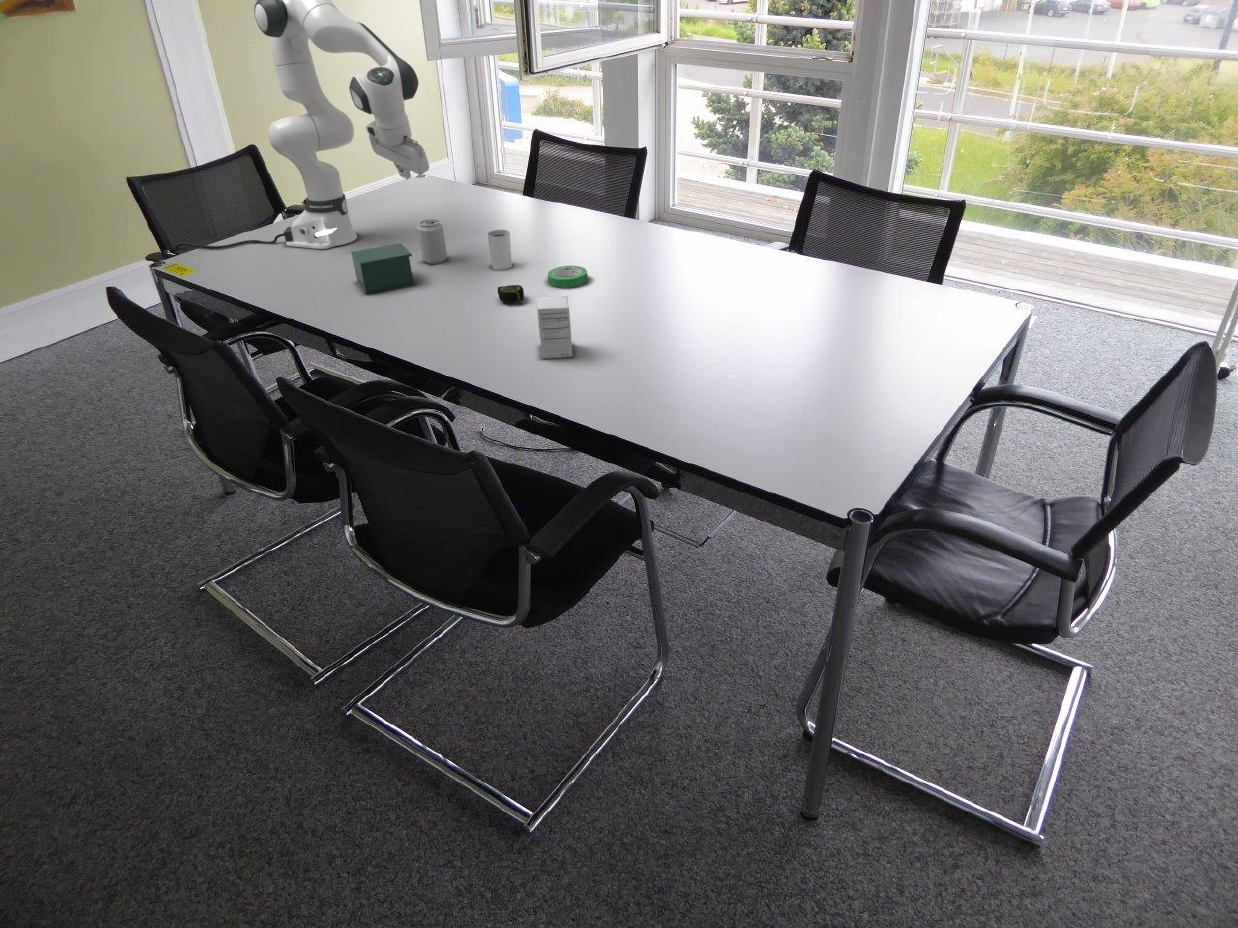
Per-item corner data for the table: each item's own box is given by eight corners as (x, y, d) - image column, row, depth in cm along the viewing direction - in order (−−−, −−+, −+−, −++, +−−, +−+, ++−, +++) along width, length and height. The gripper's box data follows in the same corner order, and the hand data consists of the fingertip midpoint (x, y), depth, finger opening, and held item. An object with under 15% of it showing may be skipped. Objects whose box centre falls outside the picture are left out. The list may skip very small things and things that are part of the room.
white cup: (517, 264, 259) (514, 231, 254) (505, 271, 254) (502, 238, 249) (498, 261, 262) (494, 228, 256) (486, 268, 257) (482, 235, 251)
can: (450, 256, 267) (444, 217, 261) (443, 265, 261) (438, 225, 254) (426, 256, 268) (420, 217, 261) (419, 265, 262) (413, 225, 255)
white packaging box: (541, 346, 210) (536, 296, 203) (571, 344, 210) (568, 294, 203) (541, 359, 204) (536, 309, 197) (572, 357, 204) (569, 306, 197)
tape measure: (523, 295, 238) (522, 282, 236) (525, 304, 232) (524, 291, 230) (498, 298, 237) (496, 284, 235) (500, 307, 231) (498, 294, 229)
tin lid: (401, 245, 252) (401, 243, 251) (411, 256, 243) (411, 253, 243) (351, 254, 246) (351, 251, 246) (360, 265, 238) (360, 263, 238)
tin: (403, 273, 256) (398, 245, 251) (413, 285, 247) (409, 256, 243) (357, 282, 251) (351, 254, 246) (366, 294, 242) (360, 266, 238)
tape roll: (540, 282, 246) (539, 273, 244) (568, 271, 252) (567, 262, 251) (567, 291, 239) (567, 282, 238) (595, 279, 246) (595, 270, 245)
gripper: (428, 138, 233) (438, 184, 244) (379, 115, 242) (390, 160, 253) (411, 148, 230) (422, 194, 241) (361, 125, 239) (373, 170, 250)
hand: (405, 176), depth 247 cm, fingers closed
